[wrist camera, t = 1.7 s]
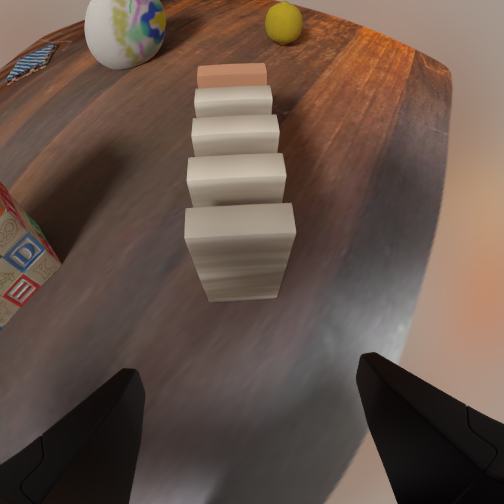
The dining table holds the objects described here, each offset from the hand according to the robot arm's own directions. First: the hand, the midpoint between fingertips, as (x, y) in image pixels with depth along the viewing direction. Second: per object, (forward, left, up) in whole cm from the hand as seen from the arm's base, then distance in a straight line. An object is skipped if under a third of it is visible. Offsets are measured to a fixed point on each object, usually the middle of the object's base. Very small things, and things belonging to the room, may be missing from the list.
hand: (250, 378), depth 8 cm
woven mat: (+67, +20, -14) cm, 71 cm away
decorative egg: (+48, -1, -14) cm, 50 cm away
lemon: (+40, -23, -14) cm, 48 cm away
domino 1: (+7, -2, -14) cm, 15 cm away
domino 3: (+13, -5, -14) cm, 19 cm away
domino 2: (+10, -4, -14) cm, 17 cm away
